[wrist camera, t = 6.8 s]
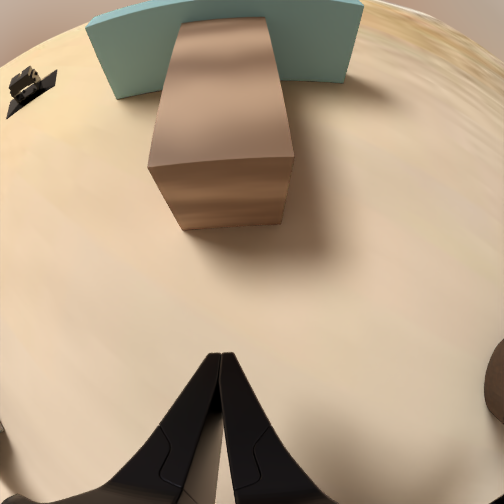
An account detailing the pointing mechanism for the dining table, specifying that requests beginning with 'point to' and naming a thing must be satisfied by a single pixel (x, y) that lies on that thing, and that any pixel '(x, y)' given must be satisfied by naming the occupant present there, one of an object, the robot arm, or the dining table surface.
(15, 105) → the black block on plate
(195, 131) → the walnut block
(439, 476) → the dining table surface
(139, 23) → the teal board
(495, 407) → the plant pot
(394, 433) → the dining table surface
